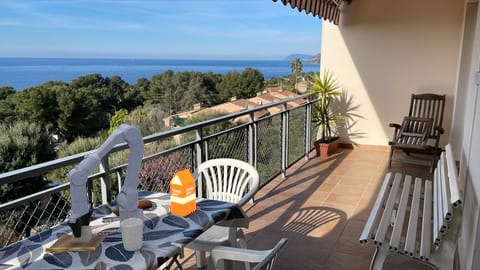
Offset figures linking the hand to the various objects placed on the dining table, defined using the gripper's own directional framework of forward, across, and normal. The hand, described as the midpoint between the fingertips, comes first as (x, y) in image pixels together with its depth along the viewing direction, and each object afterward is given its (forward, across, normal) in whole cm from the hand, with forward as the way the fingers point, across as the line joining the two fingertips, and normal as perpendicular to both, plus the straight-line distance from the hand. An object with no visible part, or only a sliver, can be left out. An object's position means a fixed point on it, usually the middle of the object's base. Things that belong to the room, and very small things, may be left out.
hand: (81, 233), depth 144 cm
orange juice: (+3, -30, +35) cm, 46 cm away
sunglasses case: (+4, -34, +10) cm, 35 cm away
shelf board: (+3, +2, -1) cm, 4 cm away
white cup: (+4, +5, +21) cm, 22 cm away
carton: (+3, 0, 0) cm, 3 cm away
